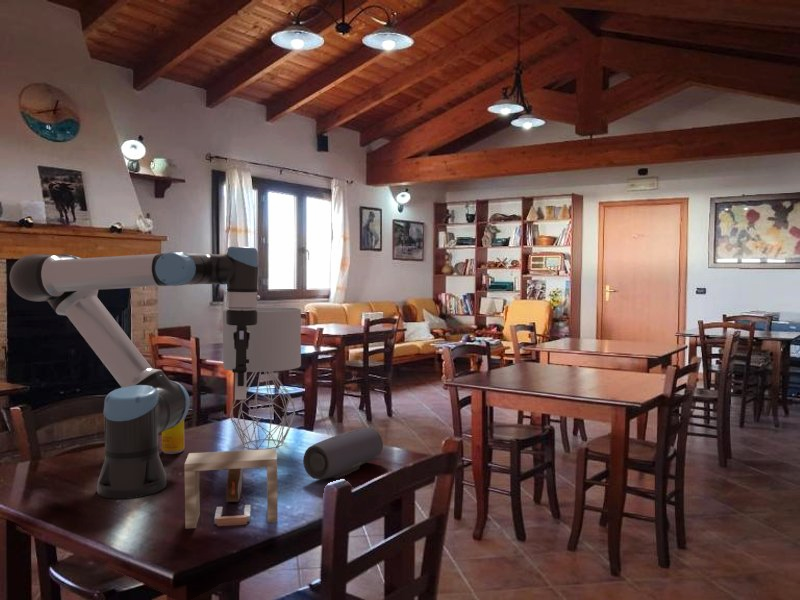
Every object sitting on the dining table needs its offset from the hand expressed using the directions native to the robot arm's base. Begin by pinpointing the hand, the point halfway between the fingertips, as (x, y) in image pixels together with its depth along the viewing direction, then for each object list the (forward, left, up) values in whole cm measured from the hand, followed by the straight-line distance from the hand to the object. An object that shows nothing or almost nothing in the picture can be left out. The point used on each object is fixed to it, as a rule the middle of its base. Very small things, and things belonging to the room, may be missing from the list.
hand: (240, 394), depth 167 cm
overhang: (-1, -30, -21) cm, 36 cm away
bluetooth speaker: (+26, -3, -21) cm, 33 cm away
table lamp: (+5, +29, -21) cm, 36 cm away
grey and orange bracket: (-1, -30, -21) cm, 36 cm away
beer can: (-20, +26, -21) cm, 39 cm away
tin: (-1, -16, -21) cm, 26 cm away
